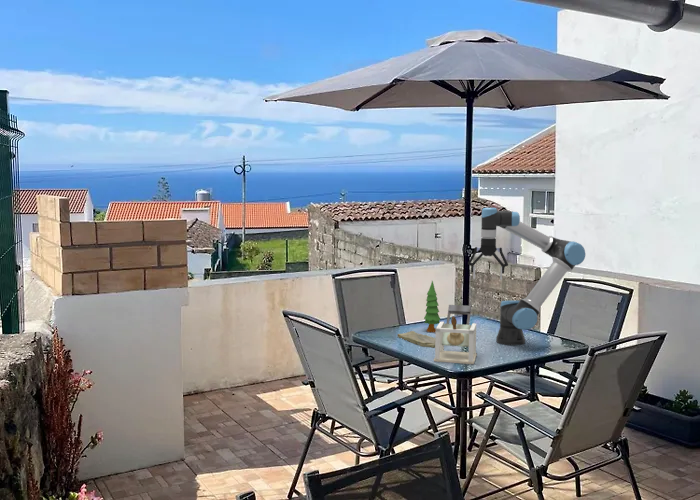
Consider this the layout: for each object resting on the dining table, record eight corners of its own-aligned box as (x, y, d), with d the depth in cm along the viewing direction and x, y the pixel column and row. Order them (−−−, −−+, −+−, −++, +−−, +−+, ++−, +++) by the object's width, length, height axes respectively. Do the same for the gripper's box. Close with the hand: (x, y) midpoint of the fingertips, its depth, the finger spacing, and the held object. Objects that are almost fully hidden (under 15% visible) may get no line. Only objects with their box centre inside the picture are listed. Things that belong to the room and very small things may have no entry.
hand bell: (451, 347, 332) (449, 325, 321) (444, 335, 338) (442, 314, 327) (467, 341, 333) (465, 319, 322) (459, 329, 339) (458, 308, 328)
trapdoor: (472, 308, 349) (472, 305, 348) (468, 347, 332) (468, 344, 330) (447, 307, 353) (447, 304, 351) (441, 346, 335) (441, 343, 334)
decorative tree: (434, 329, 406) (435, 278, 403) (443, 332, 397) (444, 280, 395) (420, 330, 401) (421, 279, 398) (429, 333, 393) (430, 281, 390)
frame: (476, 354, 344) (477, 323, 343) (473, 364, 326) (474, 331, 324) (438, 352, 349) (439, 321, 347) (433, 361, 331) (434, 328, 329)
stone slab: (427, 343, 356) (396, 330, 382) (427, 351, 357) (395, 338, 383) (446, 340, 362) (414, 328, 388) (446, 348, 363) (414, 335, 389)
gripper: (513, 238, 351) (512, 279, 353) (464, 236, 358) (463, 277, 360) (513, 239, 344) (512, 281, 346) (463, 237, 350) (462, 279, 352)
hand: (487, 279), depth 353 cm, fingers open, 13 cm apart
